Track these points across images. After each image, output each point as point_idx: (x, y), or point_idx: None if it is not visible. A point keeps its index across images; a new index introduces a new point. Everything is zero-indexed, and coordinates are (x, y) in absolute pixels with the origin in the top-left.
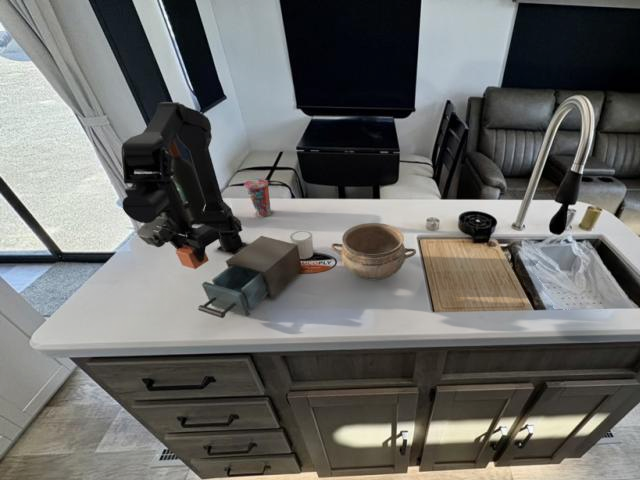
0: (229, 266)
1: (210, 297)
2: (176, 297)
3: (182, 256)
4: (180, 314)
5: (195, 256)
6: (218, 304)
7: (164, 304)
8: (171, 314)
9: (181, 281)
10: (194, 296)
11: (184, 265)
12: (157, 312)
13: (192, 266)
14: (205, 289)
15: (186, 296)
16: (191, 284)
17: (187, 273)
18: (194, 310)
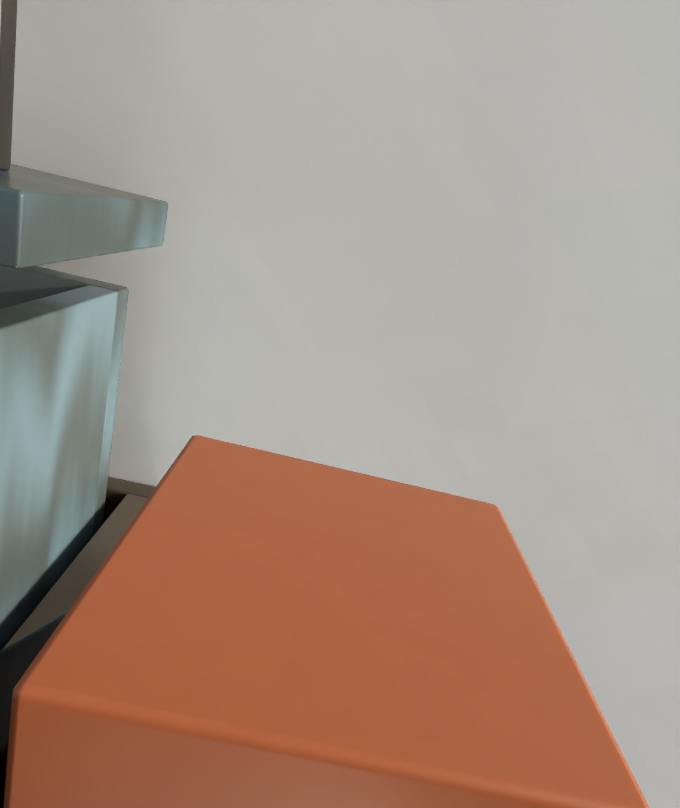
0: (11, 640)
1: (77, 188)
2: (584, 289)
3: (385, 636)
4: (419, 65)
5: None
6: (35, 172)
7: (644, 177)
8: (504, 48)
9: (648, 489)
10: (433, 327)
11: (439, 494)
12: (653, 52)
13: (218, 462)
14: (34, 185)
15: (502, 316)
16: (543, 467)
17: (648, 585)
18: (324, 145)
